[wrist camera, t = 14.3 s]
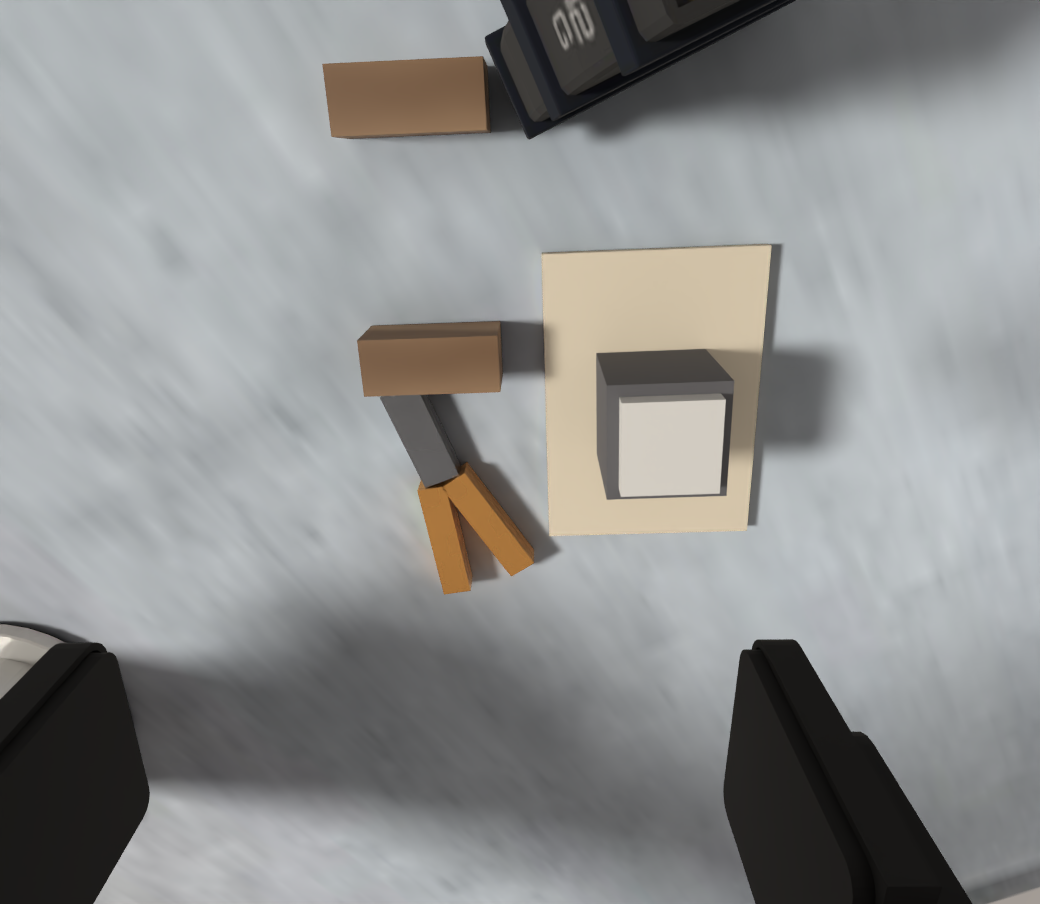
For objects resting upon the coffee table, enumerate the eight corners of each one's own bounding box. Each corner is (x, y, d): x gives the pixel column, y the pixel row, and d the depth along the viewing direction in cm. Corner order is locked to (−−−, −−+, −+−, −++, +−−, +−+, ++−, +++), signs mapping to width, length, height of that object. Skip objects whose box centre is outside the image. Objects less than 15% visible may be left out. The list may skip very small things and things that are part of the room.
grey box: (700, 449, 35) (731, 504, 30) (596, 453, 35) (608, 508, 30) (705, 348, 33) (739, 386, 28) (596, 352, 33) (608, 391, 28)
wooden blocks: (502, 373, 35) (500, 392, 32) (377, 377, 35) (364, 396, 32) (487, 65, 30) (482, 56, 27) (341, 72, 30) (322, 64, 27)
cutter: (535, 553, 38) (536, 567, 37) (449, 584, 39) (446, 598, 38) (449, 364, 34) (446, 372, 33) (355, 401, 35) (348, 411, 34)
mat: (743, 525, 37) (746, 530, 37) (549, 530, 38) (549, 535, 37) (767, 244, 32) (771, 245, 32) (541, 252, 32) (541, 254, 32)
